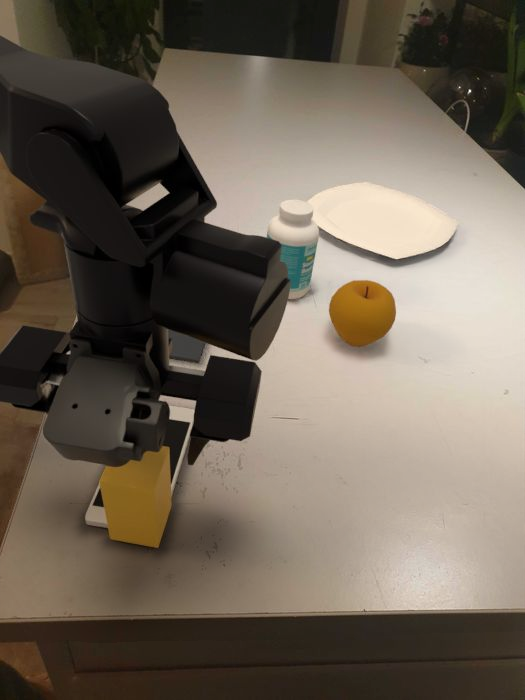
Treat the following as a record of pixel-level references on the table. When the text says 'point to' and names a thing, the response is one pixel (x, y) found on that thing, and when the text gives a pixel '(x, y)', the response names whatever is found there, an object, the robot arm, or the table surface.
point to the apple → (362, 312)
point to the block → (138, 498)
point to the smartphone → (177, 444)
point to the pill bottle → (296, 242)
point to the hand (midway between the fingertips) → (137, 451)
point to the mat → (185, 347)
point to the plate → (381, 220)
